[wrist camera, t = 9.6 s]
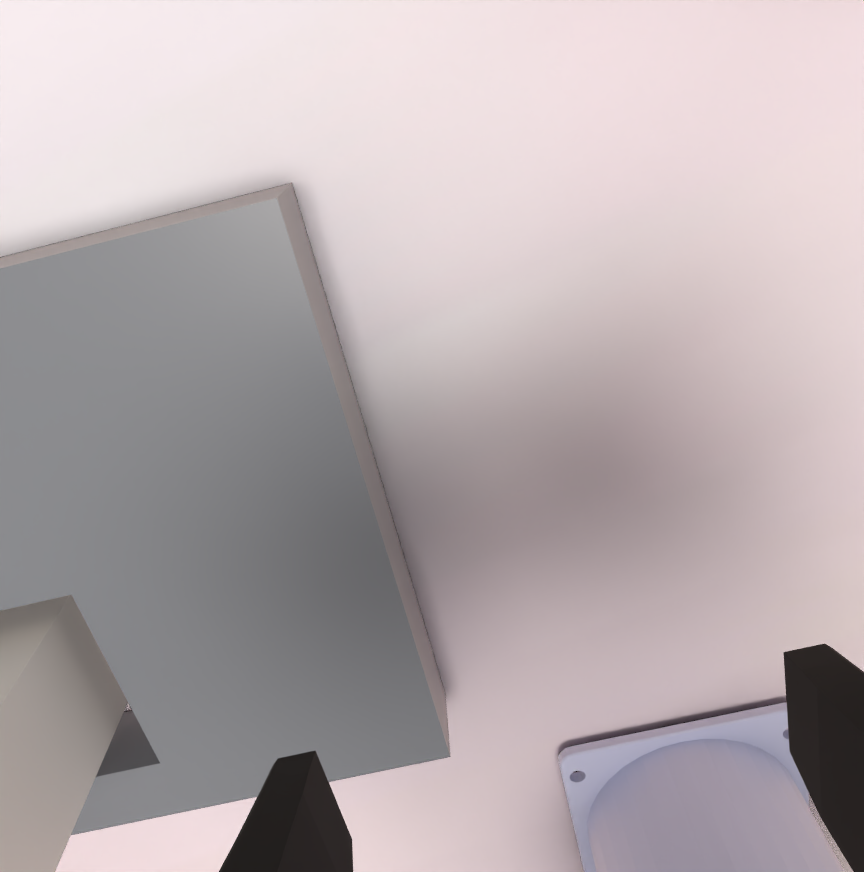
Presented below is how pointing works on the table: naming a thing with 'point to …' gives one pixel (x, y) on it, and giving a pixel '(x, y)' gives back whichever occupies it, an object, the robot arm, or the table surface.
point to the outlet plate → (208, 507)
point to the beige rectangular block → (49, 728)
